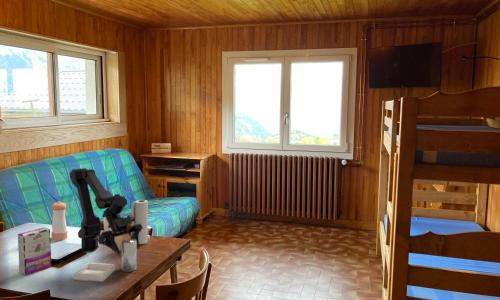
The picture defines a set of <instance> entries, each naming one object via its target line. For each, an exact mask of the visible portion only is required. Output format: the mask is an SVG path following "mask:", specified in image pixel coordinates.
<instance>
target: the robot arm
mask: <svg viewBox="0 0 500 300" xmlns="http://www.w3.org/2000/svg"><path fill="white" fill-rule="evenodd" d="M69 178H70V181H71V184H72V185H73V186H74V187H75V188H76V190H77V195H78V198H79V203H80V208H81V213H82V220H81V223H80V229H79V231H78V232H77V236H78V237H77V238H79V239H81V248H83V249H82V250H81V251H82V252H94V251H96V250H97V249H98V248H100V245H102V246H106V247H108V248H109V249H111V250H112V251H113V252H114V253H116V254H118V255H120V254H121V251H120V248H119V247H118V245H117V242H116V240H115V238H117V237H120V236H121V237H122V236H124V235H128V236H130V237H129V239H135V240H136V241H137V249H139V248H140V244H139V239H138V236H139V233H140V231H141V230H142V229H143V227H142V225H141V224H135V225H132V227H131V226H130V228H129V225H131V224H132V222H134V221H135V219H134V216H133V215H131V214H129V215H127V216H126V217H124V216H123V217H121V215H120V214H121V213H122V212H123V210H124V209H125V207H126V206H127V205H128V199H127V198H125V197H124V196H123V195H120V193H115V194H114V195H113V193H112V192H111V191H109V190H107V189H106V188H105V187H104V186H103V184H102V182H101V181H100V179H99V178H98V175H97V174H96V171H95V169H92V168H91V169H90V168H89V169H87V168H86V167H84V168H83V167H81V168H73V169H71V171H70V172H69ZM89 188H90V189H89ZM90 190H91V192H92V193H93V194H94V197H95V199H94V202H95V205H96V207H97V209H99V210H103V213H102V215H101V216H102V218H103V217H106V219H107V222H108V224H109V225H108V228H111V230H112V231H103V232H102V223H101V220H100V217H99V216H96V215H95V213H94V208H93V203H92V200H91V194H90ZM112 232H113V233H112ZM81 251H80V252H81Z"/></svg>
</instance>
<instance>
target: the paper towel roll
mask: <svg viewBox="0 0 500 300" xmlns="http://www.w3.org/2000/svg"><path fill="white" fill-rule="evenodd" d="M148 204H149V203H148V200H146V199H138V200H135V201H133V202H131V211H130V213H131V214H130V215H133V216H134V219H135V221H134V222H132V224H130V225H131V226H130V228H131V227H132V225H135V224H141V225H142V227H143V229H142V230H141V231H140V233H139V236H138V239H139V245H145V244H147V243H148V240H149V239H148V234H149V233H148V230H149V229H148V226H149V225H148V224H149V223H148V219H149V217H148V216H149V215H148V214H149V213H148V212H149V205H148Z"/></svg>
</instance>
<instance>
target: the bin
mask: <svg viewBox="0 0 500 300" xmlns="http://www.w3.org/2000/svg"><path fill="white" fill-rule="evenodd" d="M115 270H116V264H114V263H103V262H102V263H100V262H87V263H85V265H83V266H81V268H79V269H78V270H76V272H74V273H73V281H80V282H81V281H83V282H98V283H103V282H104V281H105V280H106V279H108V277H109V276H110V275H112V273H113V272H114V271H115Z"/></svg>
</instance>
